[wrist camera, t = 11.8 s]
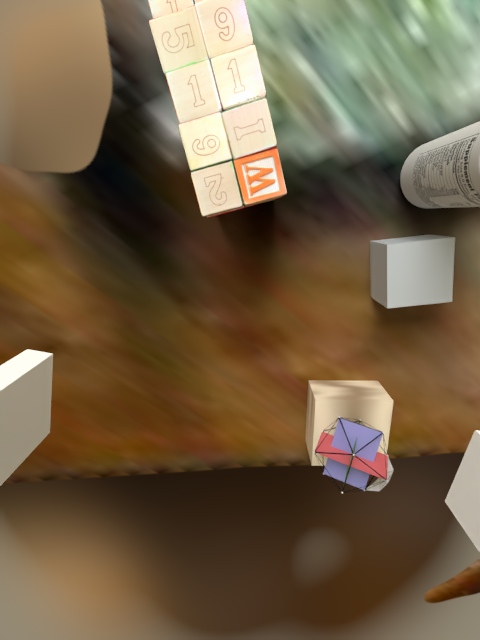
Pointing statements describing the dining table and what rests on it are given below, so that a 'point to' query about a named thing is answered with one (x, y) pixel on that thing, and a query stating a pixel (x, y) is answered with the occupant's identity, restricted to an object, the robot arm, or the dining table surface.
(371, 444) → the geometric puzzle
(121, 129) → the dining table surface
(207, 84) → the stack of blocks
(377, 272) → the grey block
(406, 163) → the energy drink can
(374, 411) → the beech block
